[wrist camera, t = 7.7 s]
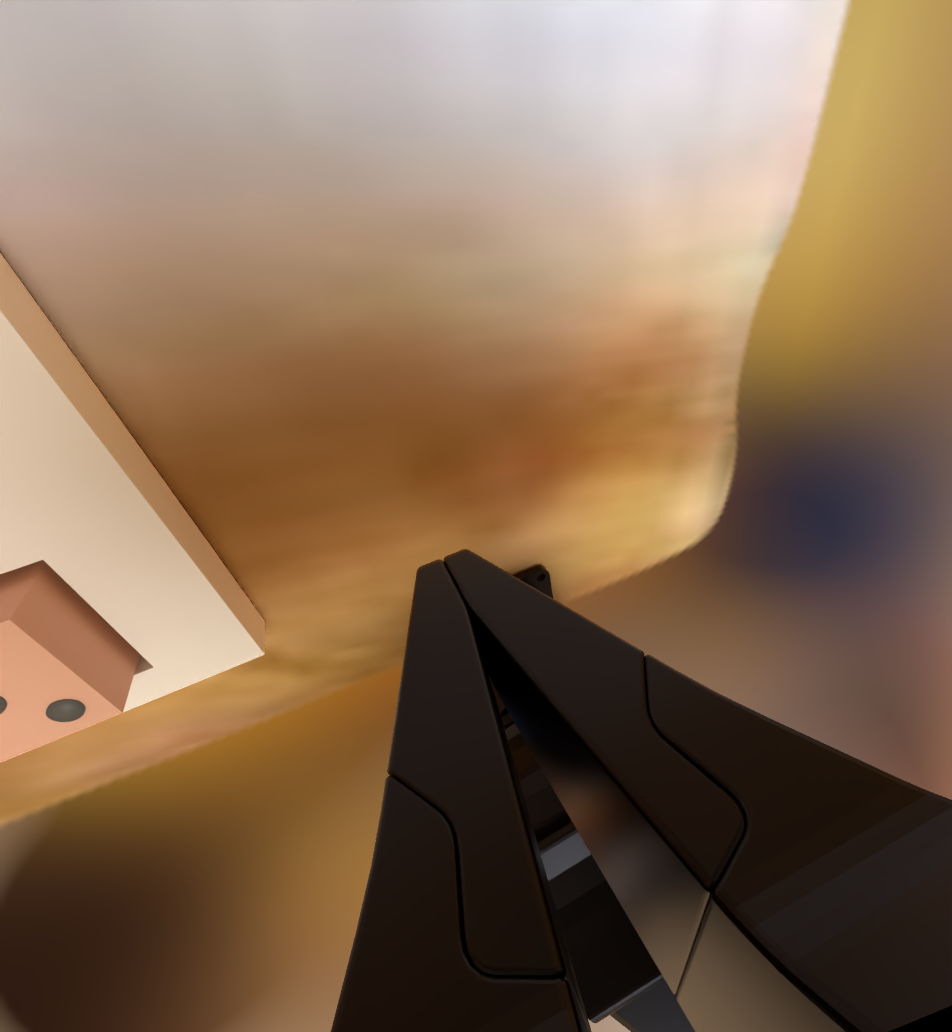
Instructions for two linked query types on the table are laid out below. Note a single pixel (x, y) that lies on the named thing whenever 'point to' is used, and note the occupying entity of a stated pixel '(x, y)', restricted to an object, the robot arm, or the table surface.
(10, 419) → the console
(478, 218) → the table surface
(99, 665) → the tile three dots
